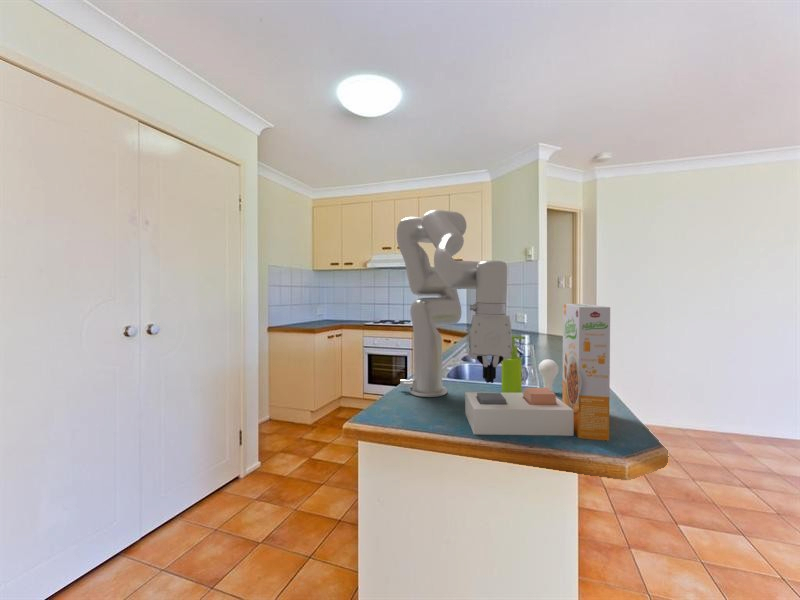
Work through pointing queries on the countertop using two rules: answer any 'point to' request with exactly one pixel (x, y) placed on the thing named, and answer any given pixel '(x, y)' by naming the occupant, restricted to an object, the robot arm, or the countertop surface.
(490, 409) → the key panel
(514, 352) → the soap dispenser
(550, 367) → the lightbulb
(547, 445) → the countertop surface
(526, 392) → the key terracotta
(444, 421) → the countertop surface
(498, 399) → the key charcoal
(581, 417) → the cereal box
